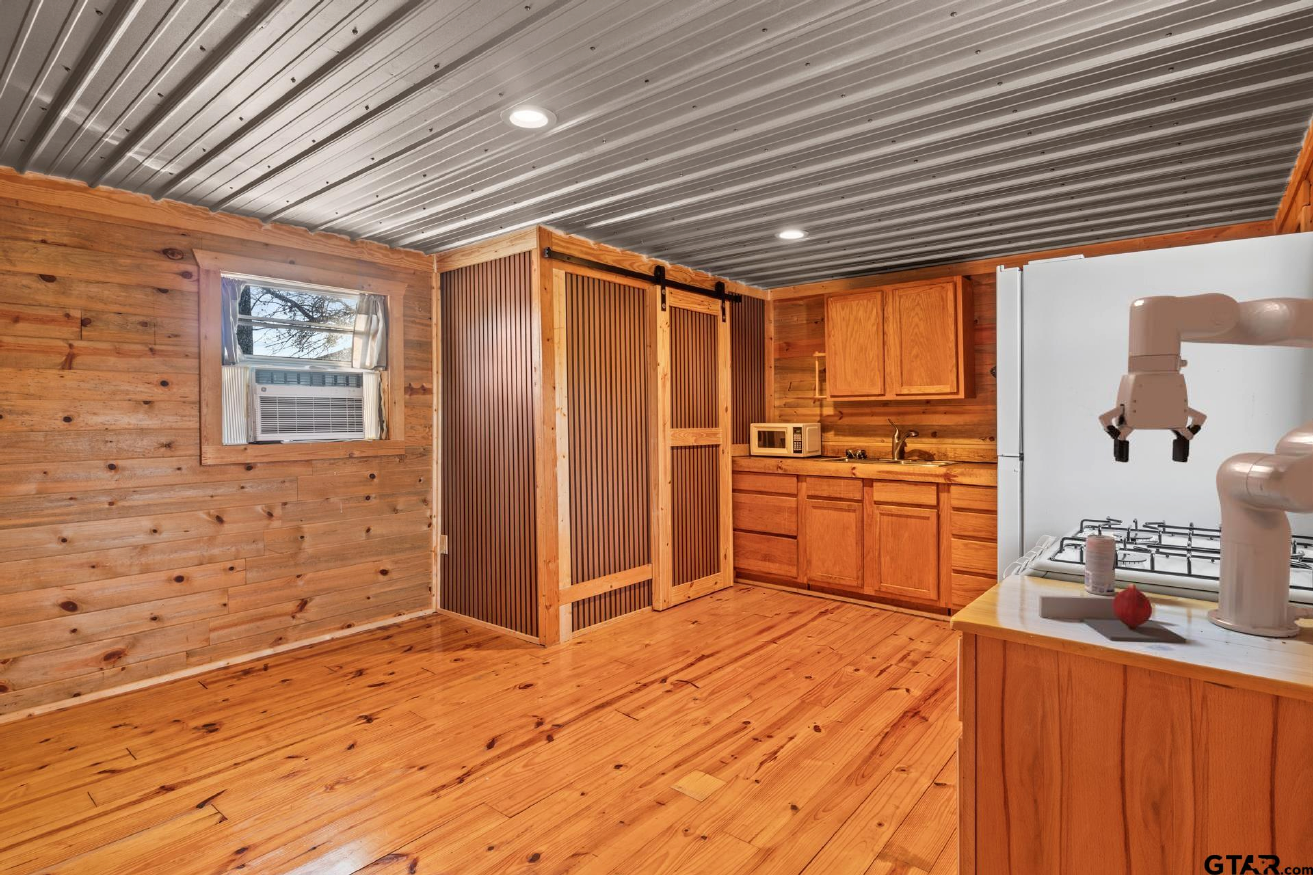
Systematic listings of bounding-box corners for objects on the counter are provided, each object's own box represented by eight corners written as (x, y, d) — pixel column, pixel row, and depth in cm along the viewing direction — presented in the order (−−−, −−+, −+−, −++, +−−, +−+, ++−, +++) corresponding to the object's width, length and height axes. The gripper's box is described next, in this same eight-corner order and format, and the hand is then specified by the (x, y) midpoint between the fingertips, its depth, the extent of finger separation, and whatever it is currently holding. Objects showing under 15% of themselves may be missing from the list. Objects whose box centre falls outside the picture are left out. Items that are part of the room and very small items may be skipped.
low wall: (1145, 618, 127) (1146, 597, 126) (1148, 620, 126) (1149, 599, 125) (1038, 615, 129) (1039, 595, 129) (1041, 617, 128) (1041, 596, 128)
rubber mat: (1150, 622, 124) (1150, 619, 124) (1186, 642, 114) (1186, 639, 114) (1081, 621, 126) (1081, 617, 126) (1110, 640, 116) (1110, 636, 116)
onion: (1158, 634, 117) (1159, 589, 116) (1121, 632, 118) (1122, 587, 117) (1140, 623, 122) (1142, 580, 122) (1105, 621, 123) (1107, 579, 123)
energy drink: (1113, 590, 145) (1115, 536, 144) (1115, 597, 140) (1116, 540, 140) (1084, 587, 148) (1085, 533, 147) (1084, 593, 143) (1086, 538, 142)
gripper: (1192, 366, 122) (1189, 459, 123) (1090, 368, 125) (1088, 459, 126) (1221, 364, 115) (1217, 463, 116) (1113, 366, 117) (1110, 463, 118)
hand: (1150, 461), depth 121 cm, fingers open, 9 cm apart
